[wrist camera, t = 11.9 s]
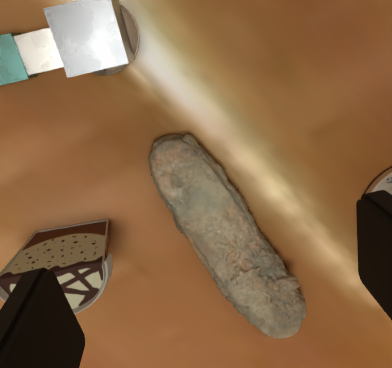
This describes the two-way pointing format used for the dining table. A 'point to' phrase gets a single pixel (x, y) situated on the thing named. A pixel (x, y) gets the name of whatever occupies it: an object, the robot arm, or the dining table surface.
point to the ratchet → (45, 53)
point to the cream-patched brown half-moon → (66, 261)
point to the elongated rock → (226, 236)
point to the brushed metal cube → (90, 35)
